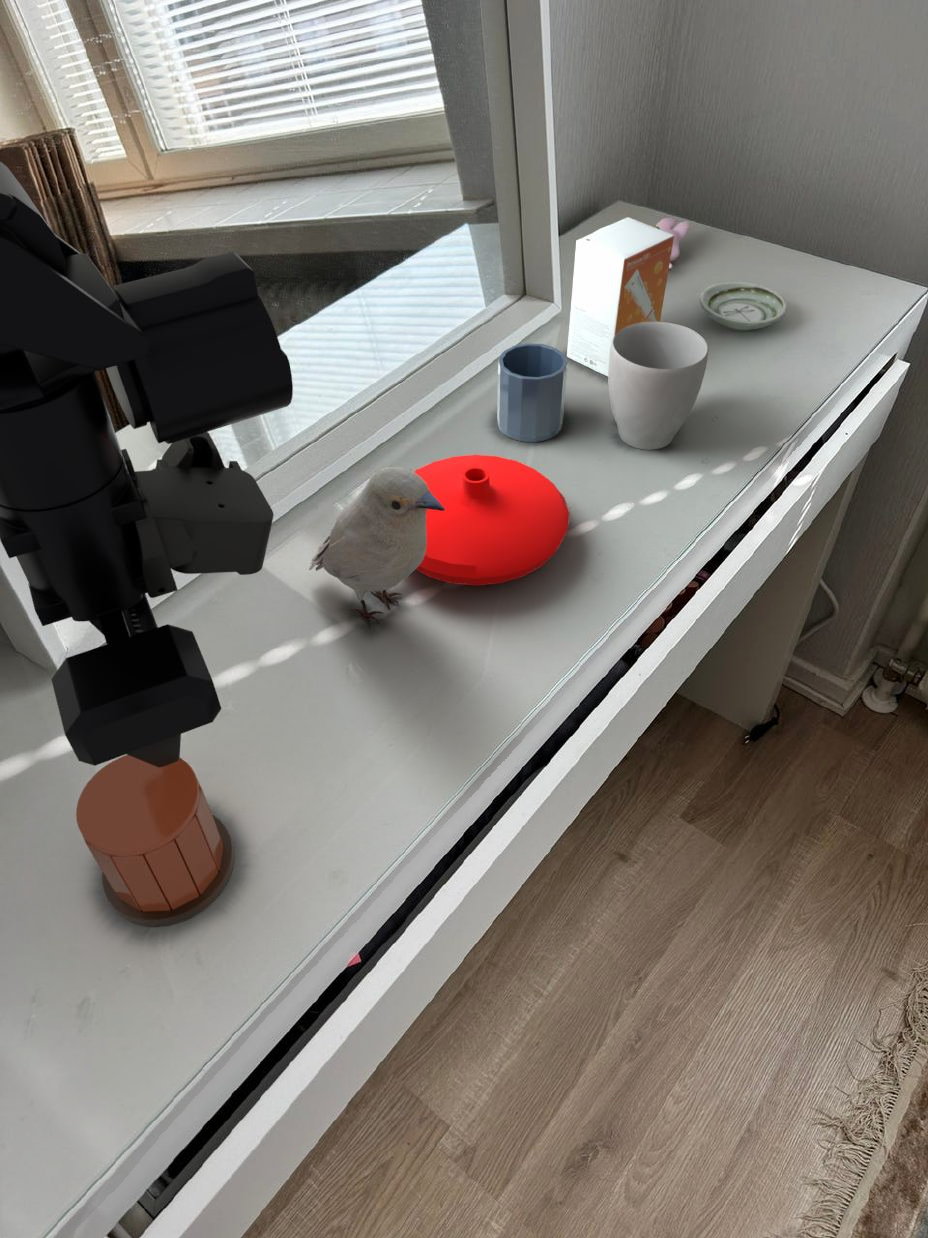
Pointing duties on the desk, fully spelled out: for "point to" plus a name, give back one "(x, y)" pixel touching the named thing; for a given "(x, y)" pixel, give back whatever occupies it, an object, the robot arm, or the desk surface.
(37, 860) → the desk surface
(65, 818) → the desk surface
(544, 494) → the red disc with nozzle
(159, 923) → the holder
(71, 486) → the robot arm
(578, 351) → the small box
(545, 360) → the slate cup
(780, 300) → the saucer
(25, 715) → the desk surface
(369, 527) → the bird
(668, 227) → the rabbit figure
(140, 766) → the orange ribbed cylinder
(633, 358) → the mug
